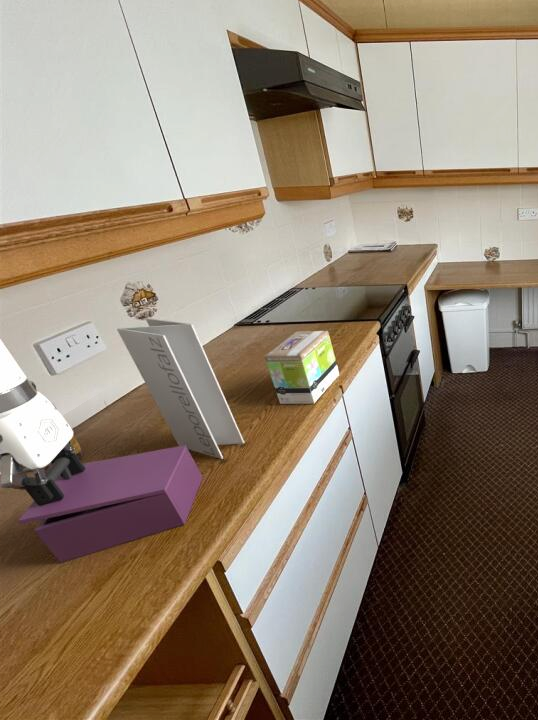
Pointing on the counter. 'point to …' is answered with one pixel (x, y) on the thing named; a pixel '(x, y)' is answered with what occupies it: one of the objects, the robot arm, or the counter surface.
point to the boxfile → (123, 518)
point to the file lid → (108, 482)
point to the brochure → (182, 384)
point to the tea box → (302, 367)
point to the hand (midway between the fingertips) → (63, 486)
